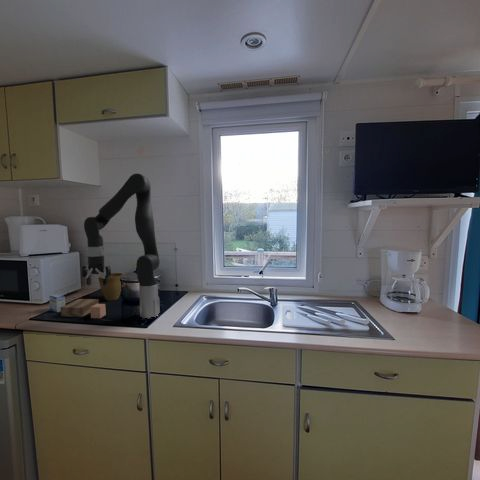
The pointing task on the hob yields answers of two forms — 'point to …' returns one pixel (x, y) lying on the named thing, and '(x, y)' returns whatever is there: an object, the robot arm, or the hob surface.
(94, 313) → the terracotta block
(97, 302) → the walnut plinth
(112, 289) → the plant pot
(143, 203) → the robot arm
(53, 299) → the medicine box
